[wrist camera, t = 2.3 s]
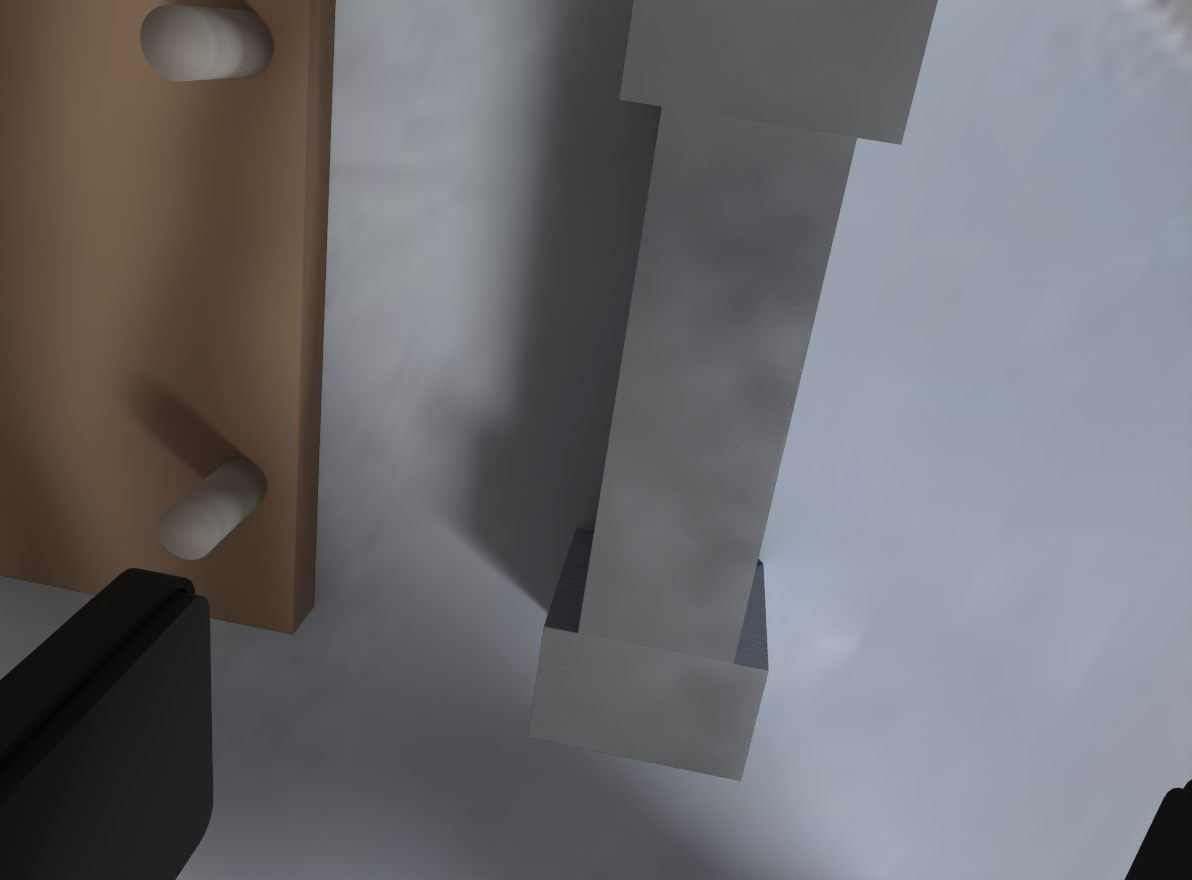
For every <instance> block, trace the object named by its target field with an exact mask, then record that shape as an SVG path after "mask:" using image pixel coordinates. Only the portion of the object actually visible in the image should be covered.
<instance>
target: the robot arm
mask: <svg viewBox="0 0 1192 880" xmlns="http://www.w3.org/2000/svg"><path fill="white" fill-rule="evenodd" d="M212 808H213V765H212V712H211V658H210V610H209V603H208V601H207V599H206V598H205V597H203V596H200V595H196V594H195V587H194V585H193V583H192V581H191V580H189V579H188V578H185V577H180V576H175V575H170V574H165V573H160V572H155V571H150V570H144V569H139V568H128V569H127V570H125V571H124V572H122V573H121V574H120V575H118V576H117V577H116V578H115V579H114V580H113V581H112V582H111V583H109V584H108V585H107V586H106V587H105V588H104V589H103V590H102V591H100V592H99V593H98V594H97V595H96V596H95V597H94V598H92V599H91V600H90V601H89V602H88V603H87V604H86V605H85V606H83V607H82V608H81V609H80V610H79V611H78V612H77V613H76V614H74V615H73V616H72V617H71V618H70V619H69V620H68V621H67V622H65V623H64V624H63V625H62V626H61V627H60V628H59V629H58V630H56V631H55V632H54V633H53V634H52V635H51V636H50V637H49V638H47V639H46V640H45V641H44V642H43V643H42V644H41V645H40V646H38V647H37V648H36V649H35V650H34V651H33V652H32V653H31V654H29V655H28V656H27V657H26V658H25V659H24V660H23V661H22V662H20V663H19V664H18V665H17V666H16V667H15V668H14V669H12V670H11V671H10V672H9V673H8V674H7V675H6V676H5V677H3V678H2V679H1V680H0V880H175V879H176V878H177V876H178V875H179V873H180V872H181V870H182V869H183V867H184V866H185V864H186V863H187V861H188V860H189V858H190V857H191V855H192V854H193V852H194V850H195V849H196V847H197V846H198V844H199V843H200V841H201V839H202V838H203V836H204V834H205V831H206V829H207V827H208V824H209V821H210V817H211V813H212ZM1125 880H1192V780H1190V781H1189V782H1187V784H1186V785H1185V787H1184V788H1183V789H1182V788H1173V789H1172V790H1170V791H1169V792H1168V793H1167V794H1166V796H1165V797H1164V799H1163V801H1162V803H1161V805H1160V807H1159V809H1158V811H1157V813H1156V815H1155V817H1154V819H1153V822H1152V824H1151V826H1150V828H1149V830H1148V832H1147V834H1146V836H1145V838H1144V840H1143V842H1142V845H1141V847H1140V849H1139V851H1138V853H1137V855H1136V857H1135V859H1134V861H1133V863H1132V865H1131V868H1130V870H1129V872H1128V874H1127V876H1126V878H1125Z"/></svg>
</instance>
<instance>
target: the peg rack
mask: <svg viewBox="0 0 1192 880" xmlns="http://www.w3.org/2000/svg"><path fill="white" fill-rule="evenodd" d="M335 2H336V0H0V576H5V577H10V578H15V579H20V580H25V581H30V582H35V583H40V584H45V585H49V586H54V587H59V588H64V589H69V590H74V591H79V592H84V593H89V594H94V595H97V594H98V593H99V592H100V591H102V590H103V589H104V588H105V587H106V586H107V585H108V584H109V583H111V582H112V581H113V580H114V579H115V578H116V577H117V576H118V575H120V574H121V573H122V572H124V571H125V570H127V569H128V568H139V569H144V570H150V571H155V572H160V573H165V574H170V575H175V576H180V577H185V578H188V579H189V580H191V581H192V583H193V585H194V587H195V594H196V595H200V596H203V597H205V598H206V599H207V601H208V603H209V610H210V618H213V619H218V620H223V621H228V622H233V623H238V624H243V625H248V626H253V627H258V628H263V629H268V630H273V631H277V632H282V633H287V634H292V635H293V634H294V632H295V631H296V630H297V628H298V627H299V626H300V624H301V623H302V622H303V620H304V619H305V618H306V616H307V615H308V614H309V612H310V611H311V610H312V608H313V607H314V584H315V556H316V529H317V501H318V473H319V446H320V418H321V390H322V362H323V335H324V307H325V279H326V252H327V224H328V196H329V168H330V141H331V113H332V85H333V57H334V30H335Z"/></svg>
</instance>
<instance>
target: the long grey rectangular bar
mask: <svg viewBox="0 0 1192 880" xmlns="http://www.w3.org/2000/svg"><path fill="white" fill-rule="evenodd" d="M937 1H938V0H633V7H632V14H631V21H630V28H629V35H628V42H627V49H626V56H625V63H624V70H623V77H622V84H621V91H620V98H619V100H624V101H630V102H636V103H643V104H649V105H655V106H661V107H662V109H661V115H660V122H659V128H658V134H657V140H656V147H655V153H654V159H653V166H652V172H651V178H650V184H649V191H648V197H647V203H646V209H645V216H644V222H643V228H642V235H641V241H640V247H639V253H638V260H637V266H636V272H635V279H634V285H633V291H632V297H631V304H630V310H629V316H628V322H627V329H626V335H625V341H624V348H623V354H622V360H621V366H620V373H619V379H618V385H617V392H616V398H615V404H614V410H613V417H612V423H611V429H610V435H609V442H608V448H607V454H606V461H605V467H604V473H603V479H602V486H601V492H600V498H599V505H598V511H597V517H596V523H595V530H594V532H592V531H587V530H582V529H576V532H575V535H574V538H573V541H572V544H571V547H570V550H569V553H568V556H567V559H566V562H565V565H564V568H563V571H562V574H561V577H560V580H559V583H558V586H557V589H556V592H555V595H554V598H553V601H552V604H551V607H550V610H549V613H548V616H547V619H546V622H545V625H544V629H543V636H542V643H541V650H540V657H539V664H538V671H537V678H536V685H535V692H534V699H533V706H532V713H531V720H530V727H529V734H528V737H529V738H534V739H539V740H544V741H548V742H553V743H558V744H563V745H568V746H573V747H578V748H583V749H587V750H592V751H597V752H602V753H607V754H612V755H617V756H621V757H626V758H631V759H636V760H641V761H646V762H651V763H656V764H660V765H665V766H670V767H675V768H680V769H685V770H690V771H694V772H699V773H704V774H709V775H714V776H719V777H724V778H729V779H733V780H738V781H741V778H742V774H743V770H744V766H745V762H746V758H747V754H748V750H749V746H750V742H751V738H752V734H753V730H754V726H755V722H756V718H757V714H758V710H759V706H760V703H761V699H762V695H763V691H764V687H765V683H766V679H767V675H768V650H767V629H766V608H765V587H764V567H763V564H760V563H757V562H758V557H759V553H760V549H761V545H762V540H763V536H764V532H765V528H766V523H767V519H768V515H769V511H770V506H771V502H772V498H773V493H774V489H775V485H776V481H777V476H778V472H779V468H780V464H781V459H782V455H783V451H784V447H785V442H786V438H787V434H788V430H789V425H790V421H791V417H792V413H793V408H794V404H795V400H796V396H797V391H798V387H799V383H800V379H801V374H802V370H803V366H804V361H805V357H806V353H807V349H808V344H809V340H810V336H811V332H812V327H813V323H814V319H815V315H816V310H817V306H818V302H819V298H820V293H821V289H822V285H823V281H824V276H825V272H826V268H827V264H828V259H829V255H830V251H831V247H832V242H833V238H834V234H835V229H836V225H837V221H838V217H839V212H840V208H841V204H842V200H843V195H844V191H845V187H846V183H847V178H848V174H849V170H850V166H851V161H852V157H853V153H854V149H855V144H856V140H857V138H862V139H869V140H875V141H881V142H888V143H894V144H900V145H901V143H902V139H903V135H904V131H905V128H906V124H907V120H908V116H909V112H910V108H911V104H912V100H913V96H914V92H915V88H916V84H917V80H918V76H919V72H920V68H921V64H922V60H923V56H924V52H925V48H926V44H927V40H928V36H929V32H930V28H931V24H932V20H933V16H934V12H935V9H936V5H937Z"/></svg>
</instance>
